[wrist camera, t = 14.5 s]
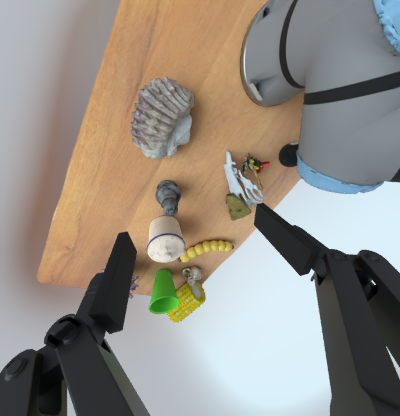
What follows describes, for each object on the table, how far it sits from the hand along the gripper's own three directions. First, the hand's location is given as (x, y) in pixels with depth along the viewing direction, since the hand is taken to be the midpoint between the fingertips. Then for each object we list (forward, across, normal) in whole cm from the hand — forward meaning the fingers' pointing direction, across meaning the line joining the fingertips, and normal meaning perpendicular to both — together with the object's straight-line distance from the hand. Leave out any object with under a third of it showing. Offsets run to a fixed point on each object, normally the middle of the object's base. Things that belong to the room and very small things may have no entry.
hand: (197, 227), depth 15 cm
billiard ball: (+25, +30, -1) cm, 39 cm away
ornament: (+23, -2, -41) cm, 47 cm away
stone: (+25, +14, -14) cm, 32 cm away
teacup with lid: (+24, -6, -18) cm, 30 cm away
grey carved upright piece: (+24, -3, -5) cm, 25 cm away
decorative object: (+24, +17, -9) cm, 30 cm away
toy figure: (+20, +17, -3) cm, 26 cm away
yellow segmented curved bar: (+24, +5, -29) cm, 37 cm away
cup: (+23, -12, -37) cm, 45 cm away
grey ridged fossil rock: (+24, -1, +9) cm, 26 cm away
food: (+19, -9, -46) cm, 50 cm away
